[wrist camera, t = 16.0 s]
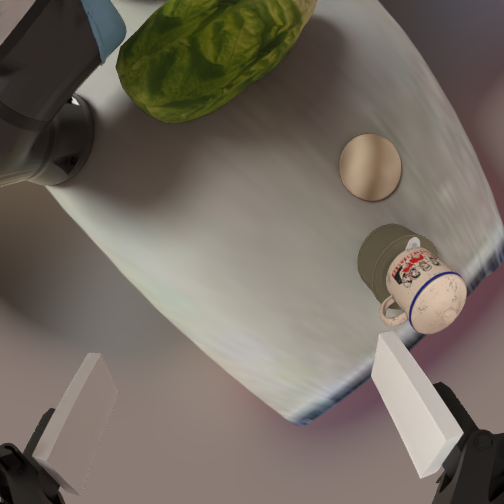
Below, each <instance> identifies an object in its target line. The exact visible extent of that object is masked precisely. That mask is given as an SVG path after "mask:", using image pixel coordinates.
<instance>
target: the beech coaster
mask: <svg viewBox="0 0 504 504" xmlns="http://www.w3.org/2000/svg"><path fill="white" fill-rule="evenodd" d="M339 173H340V177H341V180H342V182H343V184H344V185H345V187H346V188H347V189H348V190H349V191H350V192H351V193H352V194H353V195H355V196H357V197H359V198H361V199H364V200H368V201H376V200H380V199H383V198H385V197H386V196H388V195H389V194H391V192H392V191H393V190H394V189H395V188H396V186H397V184H398V182H399V179H400V176H401V161H400V157H399V154H398V152H397V150H396V148H395V147H394V146H393V144H392V143H391V142H390V141H388V140H387V139H386V138H384V137H382V136H379V135H376V134H364V135H359V136H357V137H355V138H353V139H352V140H350V141H349V142H348V143H347V144H346V146H345V147H344V149H343V150H342V153H341V155H340V159H339Z"/></svg>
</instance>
